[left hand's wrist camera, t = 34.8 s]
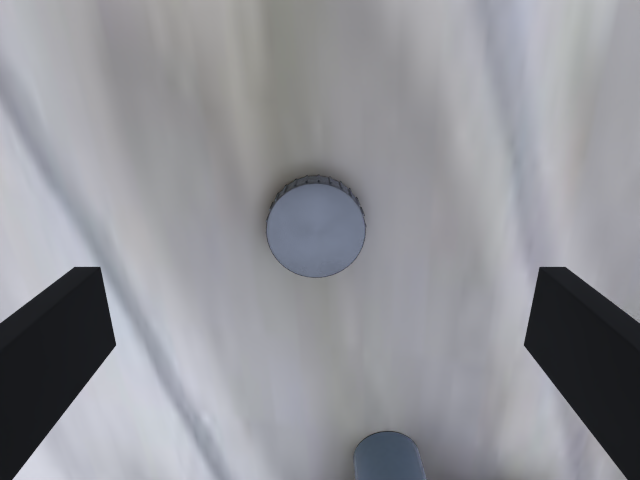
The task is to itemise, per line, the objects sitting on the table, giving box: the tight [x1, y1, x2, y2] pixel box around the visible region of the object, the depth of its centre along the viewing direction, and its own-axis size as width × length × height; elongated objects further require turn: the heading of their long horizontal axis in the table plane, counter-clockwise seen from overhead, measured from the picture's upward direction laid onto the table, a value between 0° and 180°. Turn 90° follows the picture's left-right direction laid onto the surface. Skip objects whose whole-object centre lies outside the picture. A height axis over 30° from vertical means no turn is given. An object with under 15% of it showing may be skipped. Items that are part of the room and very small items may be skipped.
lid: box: [266, 175, 366, 278], centre depth 24 cm, size 6×6×2 cm
